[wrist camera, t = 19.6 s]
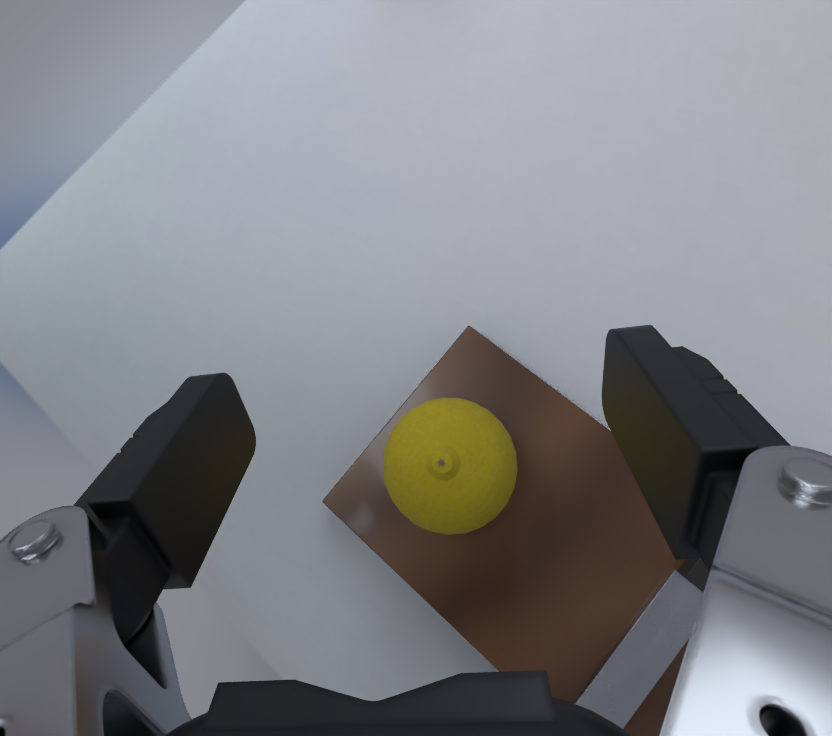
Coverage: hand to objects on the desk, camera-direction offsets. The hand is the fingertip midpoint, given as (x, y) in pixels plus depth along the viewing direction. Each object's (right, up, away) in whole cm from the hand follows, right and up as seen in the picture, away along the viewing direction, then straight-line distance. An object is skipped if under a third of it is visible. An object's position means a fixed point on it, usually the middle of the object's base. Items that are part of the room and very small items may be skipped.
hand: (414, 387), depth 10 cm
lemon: (+2, -5, +13) cm, 14 cm away
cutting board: (+6, -8, +13) cm, 17 cm away
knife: (+11, -11, +10) cm, 19 cm away
